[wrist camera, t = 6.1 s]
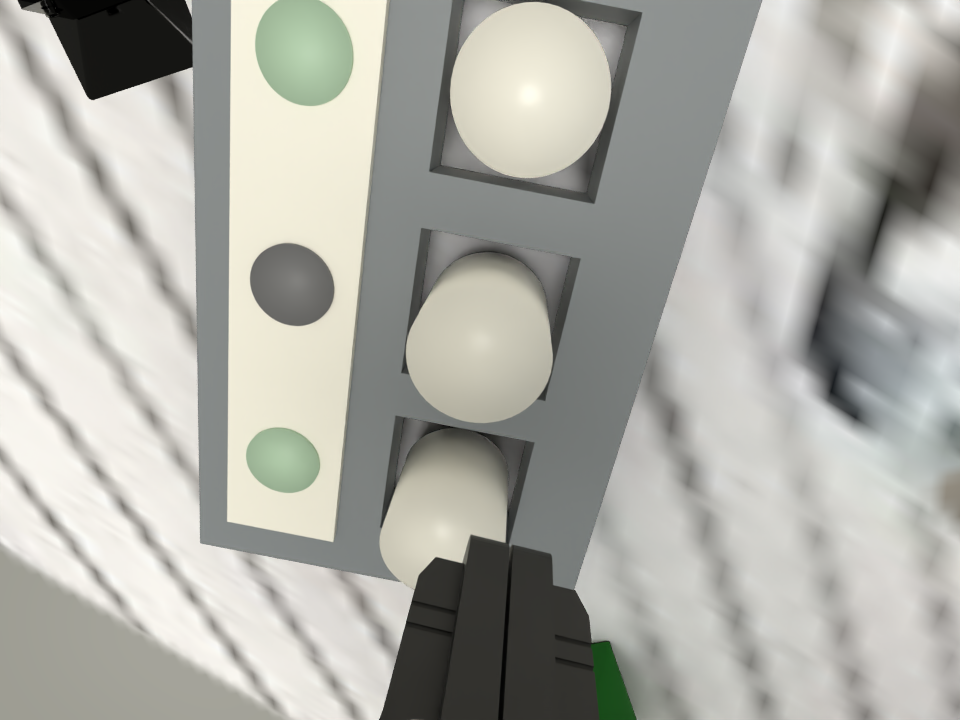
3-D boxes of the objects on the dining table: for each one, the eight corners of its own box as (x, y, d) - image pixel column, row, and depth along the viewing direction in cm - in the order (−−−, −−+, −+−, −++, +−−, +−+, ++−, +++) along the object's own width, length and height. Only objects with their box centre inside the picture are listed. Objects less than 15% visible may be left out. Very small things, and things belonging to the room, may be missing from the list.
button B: (559, 264, 23) (568, 302, 18) (533, 375, 25) (535, 435, 20) (438, 241, 23) (416, 273, 18) (421, 353, 25) (397, 408, 20)
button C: (608, 40, 21) (630, 19, 17) (576, 176, 23) (588, 191, 18) (477, 14, 21) (464, -14, 17) (456, 152, 23) (439, 162, 18)
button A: (518, 439, 26) (516, 510, 21) (497, 525, 28) (492, 607, 23) (411, 419, 26) (386, 484, 21) (398, 506, 28) (373, 584, 23)
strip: (397, -75, 18) (392, -81, 17) (335, 536, 27) (331, 544, 27) (237, -105, 18) (228, -113, 17) (231, 516, 27) (224, 524, 27)
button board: (751, -54, 20) (787, -81, 17) (562, 569, 31) (566, 614, 28) (235, -155, 20) (188, -198, 17) (229, 505, 31) (200, 543, 28)
